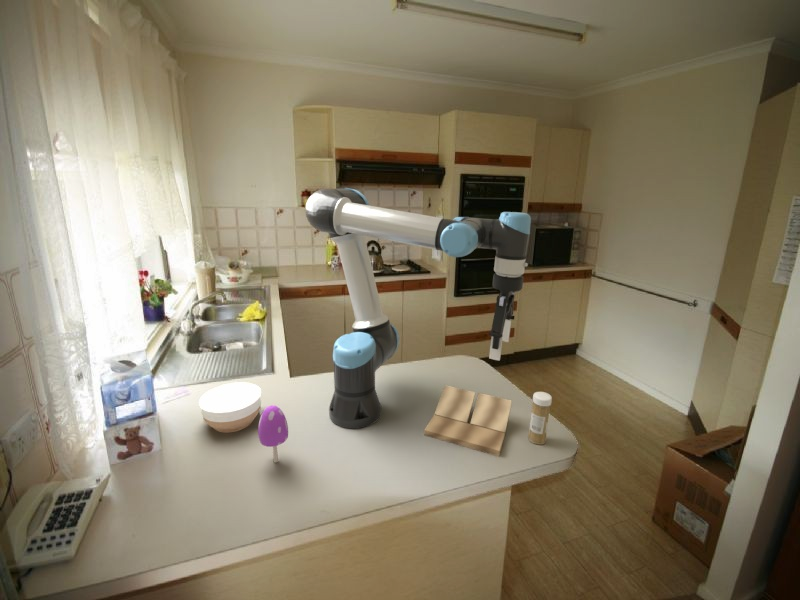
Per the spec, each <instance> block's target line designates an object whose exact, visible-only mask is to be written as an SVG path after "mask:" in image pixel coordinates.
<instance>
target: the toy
mask: <svg viewBox="0 0 800 600" xmlns="http://www.w3.org/2000/svg"><path fill="white" fill-rule="evenodd" d="M257 433H258V441H259V442H260V444H261V445H262V446H264V447H269V448H270V447H271V448H272V455H273V462H274V463H276V464H277V463H278V462H279V454H278V446H279V445H280V446H281V445H282V444H283V443H285V442H286V441H287V439H288V438H289V425H288V421H287V418H286V416H285V413H284V412H283V410H282V409H281V408H280V407H278V406H277V405H273V404H272V405H269V406H267V407H265V409H264V410H263V411H262V413H261V415H260V417H259V422H258V432H257Z"/></svg>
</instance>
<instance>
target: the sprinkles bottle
mask: <svg viewBox="0 0 800 600" xmlns="http://www.w3.org/2000/svg"><path fill="white" fill-rule="evenodd" d="M552 399H553V397H552V395H550V394H549V393H548V392H545V391H536V392H535V391H534V393H533V396H532V407H531V408H532V409H531V414H530V421H529V430H528V431H529V432H528V436H527V438H528V440H529V442H531V443H532V444H535V445H538V446H540V445H544V444H546V441H547V439H546V438H547V432H548V426H549V416H550V411H551V410H550V409H551V405H552Z"/></svg>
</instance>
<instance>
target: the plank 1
mask: <svg viewBox="0 0 800 600" xmlns="http://www.w3.org/2000/svg"><path fill="white" fill-rule="evenodd" d="M475 397H476V392H475V391H472V390H467V389H464V388H463V389H462V388H459V387H454V386H449V385H445V384H444V385H443V389H442V391H441V394H440V397H439V400H438V403H437V405H436V408H435V412H434V415H437V416H441V417H445V418H449V419H453V420H456V421H460V422H464V423H468V422H469V419H470V415H471V412H472V408H473V404H474V401H475ZM468 424H469V423H468Z"/></svg>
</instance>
